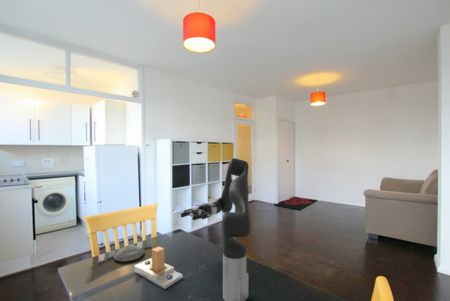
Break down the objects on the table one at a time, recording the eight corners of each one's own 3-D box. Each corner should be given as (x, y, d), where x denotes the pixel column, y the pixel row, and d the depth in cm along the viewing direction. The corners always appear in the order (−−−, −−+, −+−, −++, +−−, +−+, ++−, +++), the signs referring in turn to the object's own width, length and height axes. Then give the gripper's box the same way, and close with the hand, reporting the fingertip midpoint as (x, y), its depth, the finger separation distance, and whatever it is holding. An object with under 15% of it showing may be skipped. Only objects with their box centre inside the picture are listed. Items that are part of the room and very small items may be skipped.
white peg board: (182, 277, 102) (182, 270, 102) (164, 289, 94) (164, 280, 94) (152, 263, 115) (152, 256, 115) (134, 271, 107) (134, 264, 107)
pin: (164, 274, 105) (164, 248, 104) (157, 278, 101) (157, 251, 101) (159, 271, 107) (159, 246, 107) (151, 275, 104) (151, 249, 104)
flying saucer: (150, 253, 125) (150, 244, 125) (128, 266, 112) (128, 255, 112) (130, 248, 132) (130, 239, 132) (107, 260, 118) (107, 249, 118)
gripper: (198, 202, 134) (177, 207, 121) (217, 205, 126) (197, 211, 112) (198, 214, 134) (177, 221, 121) (217, 219, 126) (197, 226, 112)
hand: (187, 216), depth 117 cm, fingers open, 8 cm apart
